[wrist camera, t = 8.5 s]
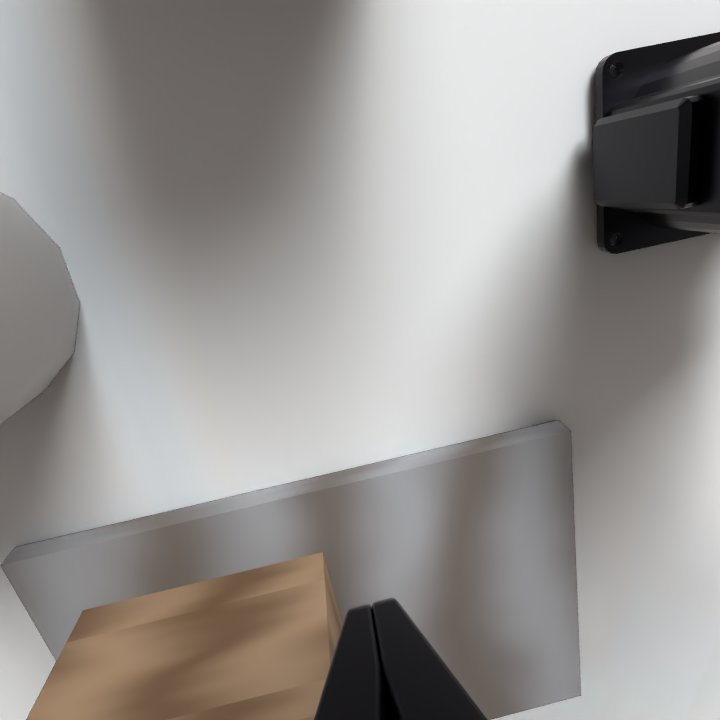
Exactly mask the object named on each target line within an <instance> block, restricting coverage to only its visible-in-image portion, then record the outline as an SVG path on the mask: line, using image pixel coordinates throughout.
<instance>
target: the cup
mask: <svg viewBox="0 0 720 720" xmlns="http://www.w3.org/2000/svg"><path fill="white" fill-rule="evenodd" d="M79 308H80V300H79V298H78V295H77V292H76V290H75V287H74V284H73V282H72V279H71V276H70V274H69V271H68V268H67V266H66V263H65V260H64V258H63V255H62V252H61V250H60V247H59V246H58V245H57V244H56V243H55V242H54V241H53V240H52V239H51V238H50V237H49V236H48V235H47V234H46V232H45V231H44V230H43V229H42V228H41V227H40V226H39V225H38V224H37V223H36V222H35V221H34V220H33V219H32V218H31V217H30V216H29V214H28V213H27V212H26V211H25V210H24V209H23V208H22V207H21V206H20V205H19V204H18V203H17V202H16V201H15V200H14V199H13V198H11V197H9V196H7V195H5V194H3V193H1V192H0V424H1V423H3V422H4V421H5V420H7V419H8V418H9V417H11V416H12V415H13V414H14V413H16V412H17V411H18V410H20V409H21V408H22V407H23V406H25V405H26V404H27V403H29V402H30V401H31V400H33V399H34V398H35V397H36V396H38V395H39V394H40V393H42V392H43V391H44V390H45V389H46V388H47V387H48V385H49V384H50V383H51V382H52V380H53V379H54V378H55V376H56V375H57V374H58V373H59V371H60V370H61V369H62V367H63V366H64V365H65V363H66V362H67V361H68V360H69V358H70V357H71V356H72V354H73V353H74V350H75V341H76V333H77V325H78V316H79Z"/></svg>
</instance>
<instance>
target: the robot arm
mask: <svg viewBox="0 0 720 720" xmlns="http://www.w3.org/2000/svg"><path fill="white" fill-rule="evenodd" d="M612 64H613V65H614V66H615V67H616V70H617V73H616V76H615V78H612V77H611V76H610V72H609V70H610V66H611V65H612ZM595 102H596V124H595V126H594V128H593V162H594V200H595V202H596V203H597V242H598V247H599V248H600V249H601V250H602V251H604V252H606V253H611V254H617V253H622V252H627V251H631V250H636V249H640V248H645V247H650V246H654V245H659V244H663V243H668V242H673V241H677V240H682V239H686V238H691V237H696V236H700V235H705V234H709V233H720V32H718V33H713V34H708V35H703V36H698V37H692V38H687V39H682V40H677V41H672V42H667V43H662V44H657V45H651V46H646V47H641V48H636V49H631V50H626V51H621V52H616V53H614V54H612V55H609V56H607V57H605V58H603V59H602V60H601V61H600V62H599V64H598V66H597V68H596V73H595ZM614 234H616V236H617V239H616V242H615V243H614V244H613V245H611V243H610V240H611V237H612V236H613V235H614ZM314 720H488V719H487V717H486V716H485V715H484V714H483V712H482V711H481V710H480V708H479V707H478V706H477V704H476V703H475V702H474V700H473V699H472V698H471V697H470V695H469V694H468V693H467V691H466V690H465V689H464V687H463V686H462V685H461V683H460V682H459V681H458V679H457V678H456V677H455V676H454V674H453V673H452V672H451V670H450V669H449V668H448V666H447V665H446V664H445V662H444V661H443V660H442V659H441V657H440V656H439V655H438V653H437V652H436V651H435V649H434V648H433V647H432V645H431V644H430V643H429V642H428V640H427V639H426V638H425V636H424V635H423V634H422V632H421V631H420V630H419V628H418V627H417V626H416V625H415V623H414V622H413V621H412V619H411V618H410V617H409V615H408V614H407V613H406V611H405V610H404V609H403V607H402V606H401V605H400V604H399V602H398V601H397V600H396V599H395V598H388V599H384V600H379V601H376V602H374V603H373V604H372V606H371V605H370V604H363V605H359V606H355V607H351V608H349V609H348V610H347V612H346V615H345V618H344V622H343V625H342V628H341V631H340V635H339V638H338V641H337V645H336V648H335V651H334V654H333V658H332V661H331V664H330V668H329V671H328V674H327V677H326V681H325V684H324V687H323V691H322V694H321V697H320V700H319V704H318V707H317V710H316V714H315V717H314Z"/></svg>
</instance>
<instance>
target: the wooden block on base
mask: <svg viewBox="0 0 720 720" xmlns="http://www.w3.org/2000/svg"><path fill="white" fill-rule="evenodd" d="M0 566H1V567H2V569H3V571H4V573H5V574H6V576H7V578H8V579H9V581H10V583H11V585H12V586H13V588H14V590H15V591H16V593H17V595H18V597H19V598H20V600H21V602H22V603H23V605H24V607H25V609H26V610H27V612H28V614H29V615H30V617H31V619H32V621H33V622H34V624H35V626H36V627H37V629H38V631H39V633H40V634H41V636H42V638H43V639H44V641H45V643H46V645H47V646H48V648H49V650H50V651H51V653H52V655H53V657H54V658H55V660H56V663H55V665H54V667H53V669H52V671H51V673H50V675H49V677H48V679H47V681H46V682H45V684H44V686H43V688H42V690H41V692H40V694H39V696H38V698H37V700H36V702H35V704H34V706H33V708H32V709H31V711H30V713H29V715H28V717H27V719H26V720H314V717H315V714H316V710H317V707H318V704H319V700H320V697H321V694H322V691H323V687H324V684H325V681H326V677H327V674H328V671H329V668H330V664H331V661H332V658H333V654H334V651H335V648H336V645H337V641H338V638H339V635H340V631H341V628H342V625H343V622H344V618H345V615H346V612H347V610H348V609H349V608H351V607H355V606H359V605H363V604H370V605H371V606H372V604H373V603H374V602H376V601H379V600H384V599H388V598H395V599H396V600H397V601H398V602H399V604H400V605H401V606H402V607H403V609H404V610H405V611H406V613H407V614H408V615H409V617H410V618H411V619H412V621H413V622H414V623H415V625H416V626H417V627H418V628H419V630H420V631H421V632H422V634H423V635H424V636H425V638H426V639H427V640H428V642H429V643H430V644H431V645H432V647H433V648H434V649H435V651H436V652H437V653H438V655H439V656H440V657H441V659H442V660H443V661H444V662H445V664H446V665H447V666H448V668H449V669H450V670H451V672H452V673H453V674H454V676H455V677H456V678H457V679H458V681H459V682H460V683H461V685H462V686H463V687H464V689H465V690H466V691H467V693H468V694H469V695H470V697H471V698H472V699H473V700H474V702H475V703H476V704H477V706H478V707H479V708H480V710H481V711H482V712H483V714H484V715H485V716H486V717H487V719H488V720H491V719H495V718H499V717H502V716H506V715H510V714H514V713H517V712H521V711H525V710H529V709H533V708H536V707H540V706H544V705H548V704H551V703H555V702H559V701H563V700H567V699H570V698H574V697H578V696H581V680H580V654H579V629H578V603H577V577H576V551H575V526H574V500H573V474H572V448H571V431H570V430H569V429H568V428H567V427H566V426H564V425H563V424H562V423H561V422H560V421H559V420H556V421H552V422H548V423H544V424H539V425H535V426H531V427H527V428H522V429H518V430H514V431H509V432H505V433H501V434H497V435H492V436H488V437H484V438H480V439H475V440H471V441H467V442H462V443H458V444H454V445H450V446H445V447H441V448H437V449H433V450H428V451H424V452H420V453H415V454H411V455H407V456H403V457H398V458H394V459H390V460H386V461H381V462H377V463H373V464H368V465H364V466H360V467H356V468H351V469H347V470H343V471H339V472H334V473H330V474H326V475H321V476H317V477H313V478H309V479H304V480H300V481H296V482H292V483H287V484H283V485H279V486H274V487H270V488H266V489H262V490H257V491H253V492H249V493H245V494H240V495H236V496H232V497H227V498H223V499H219V500H215V501H210V502H206V503H202V504H198V505H193V506H189V507H185V508H180V509H176V510H172V511H168V512H163V513H159V514H155V515H151V516H146V517H142V518H138V519H133V520H129V521H125V522H121V523H116V524H112V525H108V526H104V527H99V528H95V529H91V530H86V531H82V532H78V533H74V534H69V535H65V536H61V537H57V538H52V539H48V540H44V541H39V542H35V543H31V544H27V545H22V546H18V547H15V548H14V549H13V550H12V552H11V553H10V554H9V555H8V556H7V558H6V559H5V560H4V561H3V563H2V564H1V565H0Z"/></svg>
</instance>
